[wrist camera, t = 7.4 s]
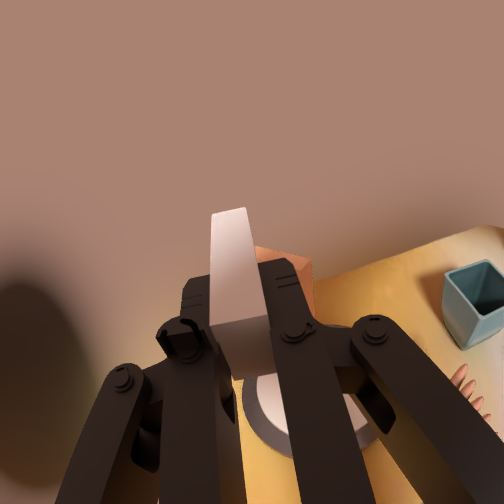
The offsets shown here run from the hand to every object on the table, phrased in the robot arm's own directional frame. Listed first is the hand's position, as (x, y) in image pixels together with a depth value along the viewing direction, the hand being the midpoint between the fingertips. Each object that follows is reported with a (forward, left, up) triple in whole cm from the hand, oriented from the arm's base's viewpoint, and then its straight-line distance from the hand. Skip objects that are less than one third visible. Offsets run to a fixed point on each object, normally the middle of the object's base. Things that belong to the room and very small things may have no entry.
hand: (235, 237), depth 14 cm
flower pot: (-3, -28, -26) cm, 38 cm away
